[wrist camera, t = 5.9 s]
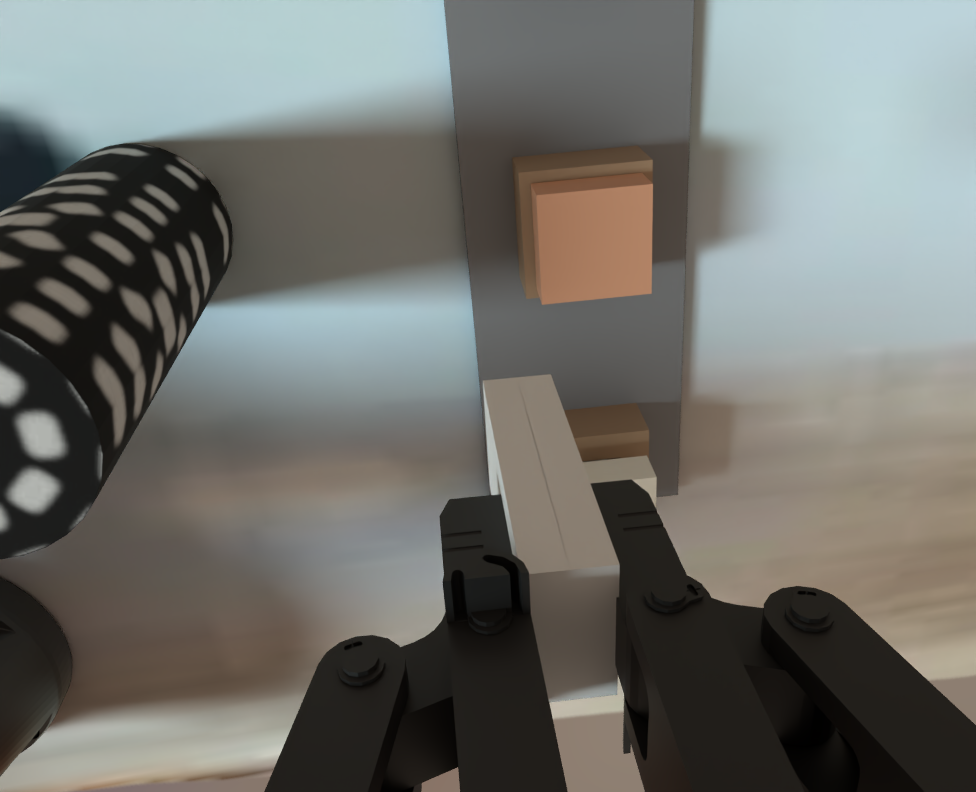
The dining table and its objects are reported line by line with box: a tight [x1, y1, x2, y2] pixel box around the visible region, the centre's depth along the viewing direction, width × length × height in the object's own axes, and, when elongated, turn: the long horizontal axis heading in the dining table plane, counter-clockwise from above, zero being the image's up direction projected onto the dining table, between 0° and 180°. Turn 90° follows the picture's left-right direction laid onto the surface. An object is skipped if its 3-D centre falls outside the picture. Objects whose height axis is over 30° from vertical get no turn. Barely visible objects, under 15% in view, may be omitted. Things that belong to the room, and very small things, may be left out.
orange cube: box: [531, 173, 653, 305], centre depth 40 cm, size 5×5×5 cm
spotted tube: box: [0, 144, 233, 559], centre depth 33 cm, size 8×8×20 cm
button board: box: [444, 0, 694, 497], centre depth 41 cm, size 11×35×4 cm, turn 4°
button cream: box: [582, 456, 657, 508], centre depth 45 cm, size 5×5×5 cm
